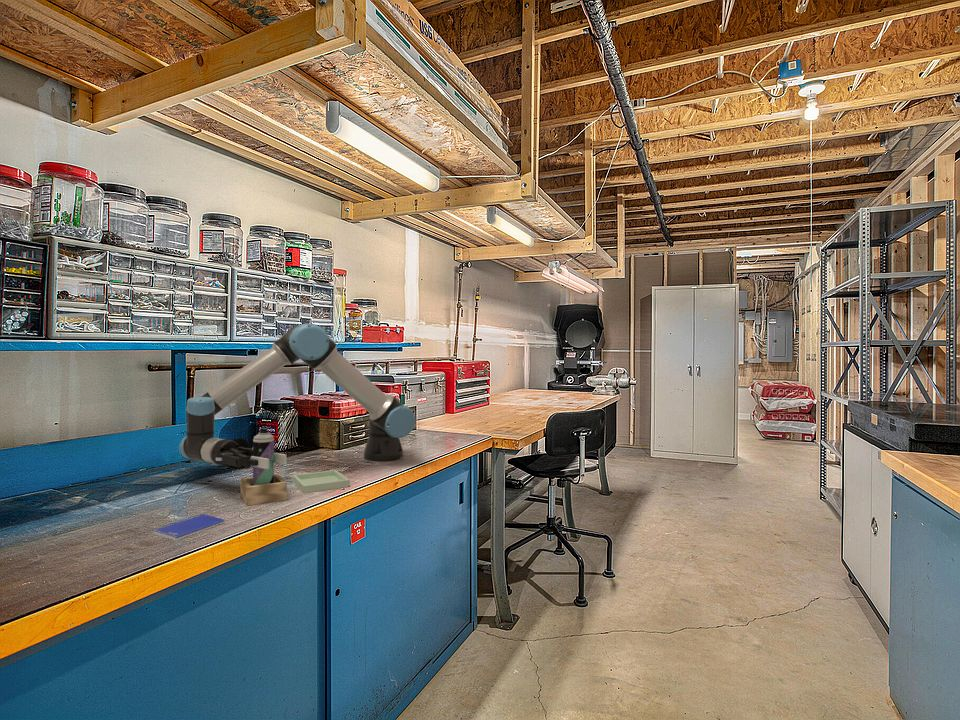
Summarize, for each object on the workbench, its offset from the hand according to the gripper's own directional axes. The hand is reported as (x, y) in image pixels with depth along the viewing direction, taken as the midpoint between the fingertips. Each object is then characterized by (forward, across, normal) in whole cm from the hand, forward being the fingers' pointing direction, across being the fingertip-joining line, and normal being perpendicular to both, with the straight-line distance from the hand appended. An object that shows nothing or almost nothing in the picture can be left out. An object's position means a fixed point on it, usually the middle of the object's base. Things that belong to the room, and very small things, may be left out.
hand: (276, 461), depth 142 cm
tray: (-1, -19, -11) cm, 22 cm away
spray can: (-5, 0, -11) cm, 12 cm away
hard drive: (-1, +25, -12) cm, 27 cm away
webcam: (-42, -21, -11) cm, 48 cm away
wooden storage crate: (-5, 0, -11) cm, 12 cm away
